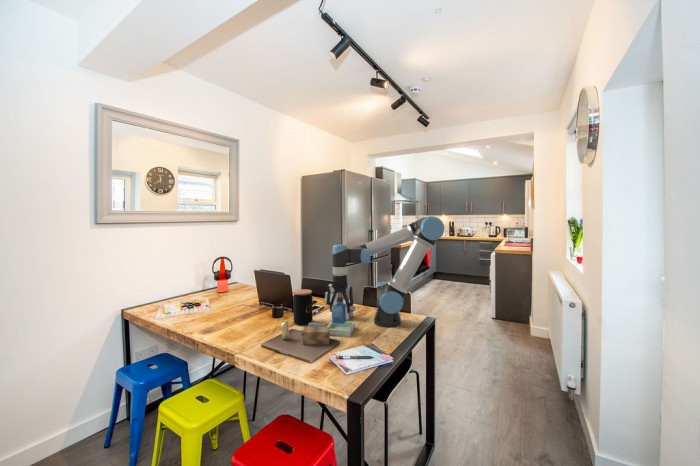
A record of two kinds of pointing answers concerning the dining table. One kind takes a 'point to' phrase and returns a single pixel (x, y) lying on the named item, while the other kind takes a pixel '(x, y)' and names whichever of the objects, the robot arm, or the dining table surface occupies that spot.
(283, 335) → the bench dog
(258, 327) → the dining table surface
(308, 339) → the brown wooden block
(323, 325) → the slot block
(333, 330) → the tray
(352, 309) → the toy llama
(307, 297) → the coffee jar
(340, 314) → the perfume bottle
